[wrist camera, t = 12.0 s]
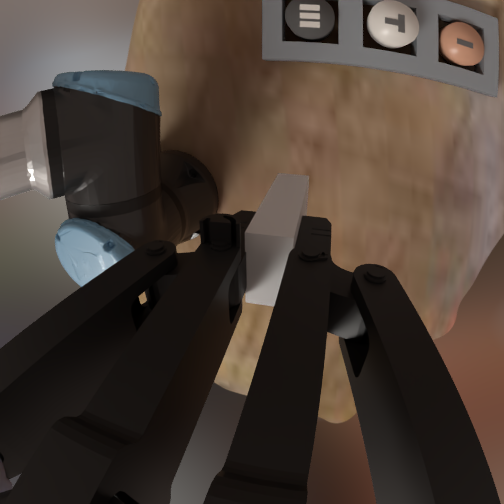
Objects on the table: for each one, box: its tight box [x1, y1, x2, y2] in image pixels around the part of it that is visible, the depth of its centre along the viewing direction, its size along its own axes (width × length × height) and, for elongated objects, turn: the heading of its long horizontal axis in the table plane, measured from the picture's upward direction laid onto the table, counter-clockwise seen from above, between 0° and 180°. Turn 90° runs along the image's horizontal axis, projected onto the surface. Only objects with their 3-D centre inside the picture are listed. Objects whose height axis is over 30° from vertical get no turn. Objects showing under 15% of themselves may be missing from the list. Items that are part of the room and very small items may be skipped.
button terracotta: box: [438, 22, 484, 66], centre depth 27 cm, size 6×6×4 cm
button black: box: [285, 0, 335, 41], centre depth 31 cm, size 6×6×4 cm
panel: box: [262, 0, 499, 97], centre depth 30 cm, size 32×12×3 cm, turn 90°
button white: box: [366, 0, 419, 49], centre depth 27 cm, size 6×6×4 cm
